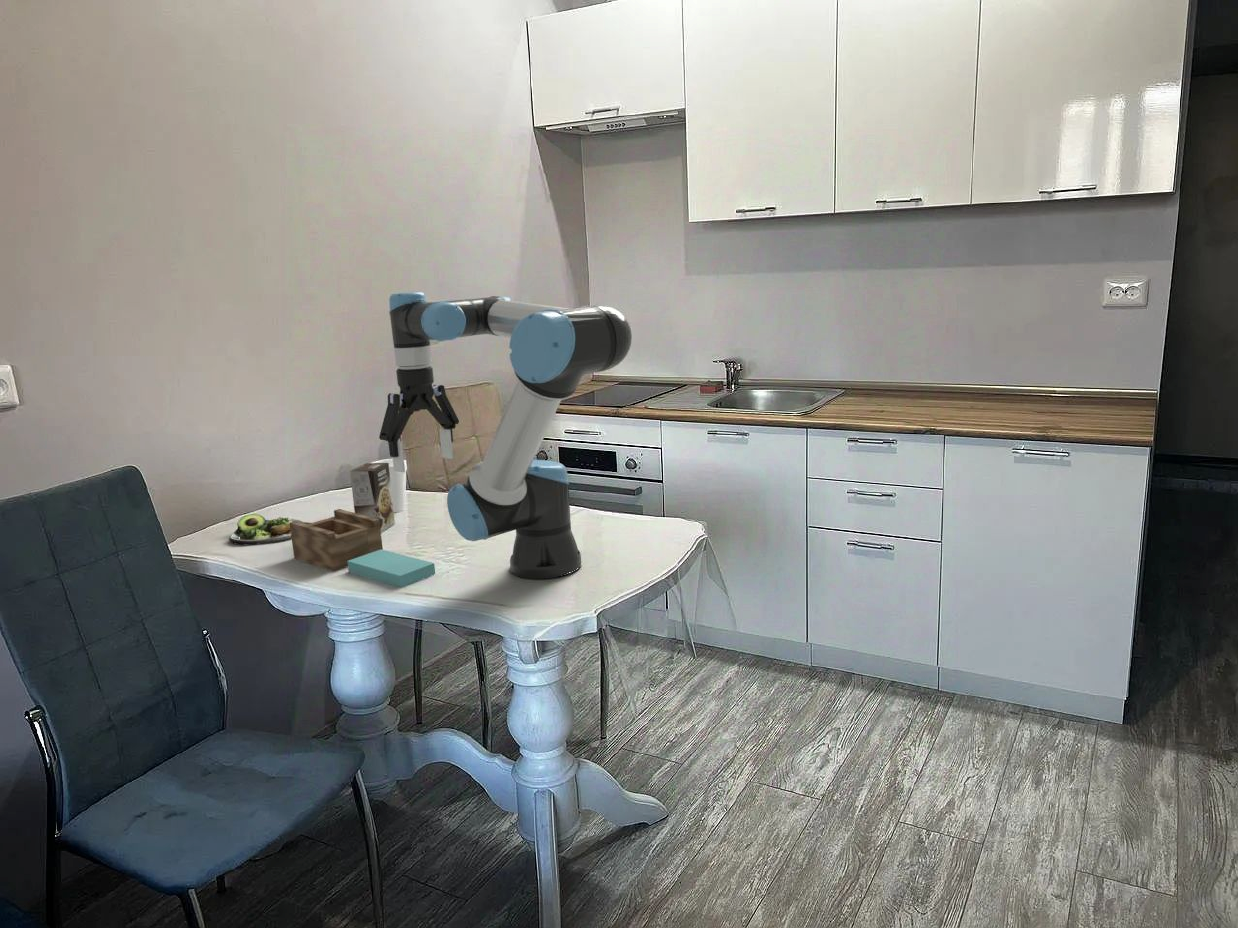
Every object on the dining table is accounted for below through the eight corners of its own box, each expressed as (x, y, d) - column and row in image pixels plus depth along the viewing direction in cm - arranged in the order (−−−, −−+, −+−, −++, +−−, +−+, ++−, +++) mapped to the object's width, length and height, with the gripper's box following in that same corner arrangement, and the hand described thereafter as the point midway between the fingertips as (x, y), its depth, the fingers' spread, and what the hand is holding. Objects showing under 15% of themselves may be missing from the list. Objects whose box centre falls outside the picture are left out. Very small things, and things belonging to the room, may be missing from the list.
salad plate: (320, 521, 244) (318, 504, 242) (307, 541, 226) (305, 523, 225) (244, 527, 241) (241, 510, 240) (225, 548, 224) (222, 530, 223)
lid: (435, 576, 198) (434, 563, 197) (401, 589, 191) (400, 575, 190) (382, 561, 209) (381, 549, 208) (348, 573, 202) (347, 560, 201)
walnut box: (383, 554, 212) (379, 519, 210) (333, 571, 203) (328, 534, 201) (343, 543, 223) (339, 508, 221) (294, 558, 213) (289, 522, 211)
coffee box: (380, 534, 228) (373, 470, 224) (356, 534, 229) (348, 470, 226) (396, 523, 237) (389, 461, 233) (372, 523, 238) (365, 462, 234)
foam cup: (399, 503, 256) (394, 457, 253) (417, 508, 249) (412, 461, 246) (368, 511, 249) (362, 464, 247) (386, 516, 243) (381, 468, 240)
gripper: (445, 358, 208) (454, 451, 213) (354, 374, 189) (366, 475, 194) (469, 359, 204) (477, 454, 208) (378, 375, 184) (389, 479, 189)
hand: (424, 464), depth 201 cm, fingers open, 13 cm apart
